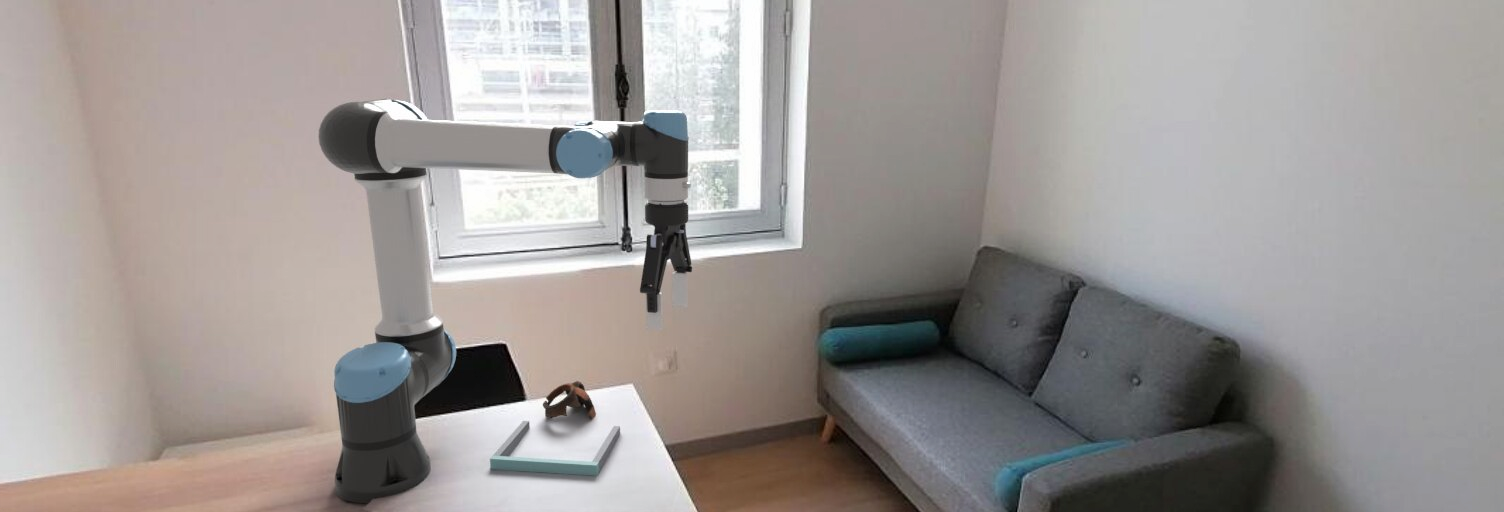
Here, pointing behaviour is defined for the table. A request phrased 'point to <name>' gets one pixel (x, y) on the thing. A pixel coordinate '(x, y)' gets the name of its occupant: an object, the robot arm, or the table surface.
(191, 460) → the table surface
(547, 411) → the brown curved openwork piece
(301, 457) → the table surface
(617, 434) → the bay
